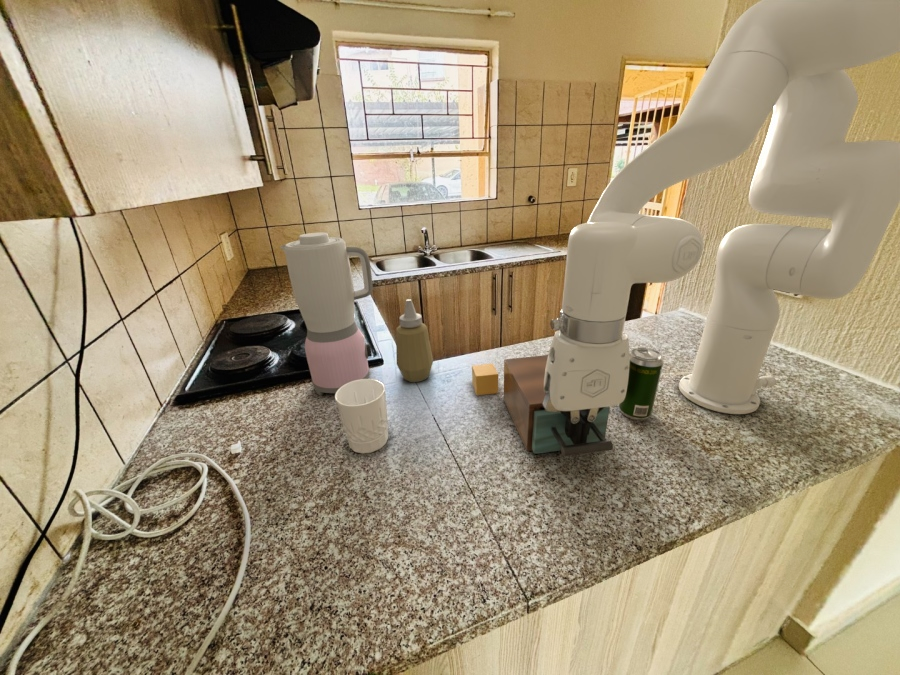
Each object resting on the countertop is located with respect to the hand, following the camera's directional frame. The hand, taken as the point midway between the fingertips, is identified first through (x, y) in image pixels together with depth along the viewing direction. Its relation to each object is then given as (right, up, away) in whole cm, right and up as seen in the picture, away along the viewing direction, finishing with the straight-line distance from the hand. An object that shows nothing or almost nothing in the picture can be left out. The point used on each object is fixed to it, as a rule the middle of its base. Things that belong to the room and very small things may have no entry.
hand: (575, 438), depth 53 cm
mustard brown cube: (-11, +4, +22) cm, 25 cm away
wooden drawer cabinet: (-1, 0, +12) cm, 12 cm away
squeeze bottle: (-26, +6, +28) cm, 39 cm away
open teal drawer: (0, -1, +7) cm, 7 cm away
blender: (-41, +5, +27) cm, 49 cm away
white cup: (-33, -3, +9) cm, 34 cm away
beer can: (+15, +1, +12) cm, 20 cm away
